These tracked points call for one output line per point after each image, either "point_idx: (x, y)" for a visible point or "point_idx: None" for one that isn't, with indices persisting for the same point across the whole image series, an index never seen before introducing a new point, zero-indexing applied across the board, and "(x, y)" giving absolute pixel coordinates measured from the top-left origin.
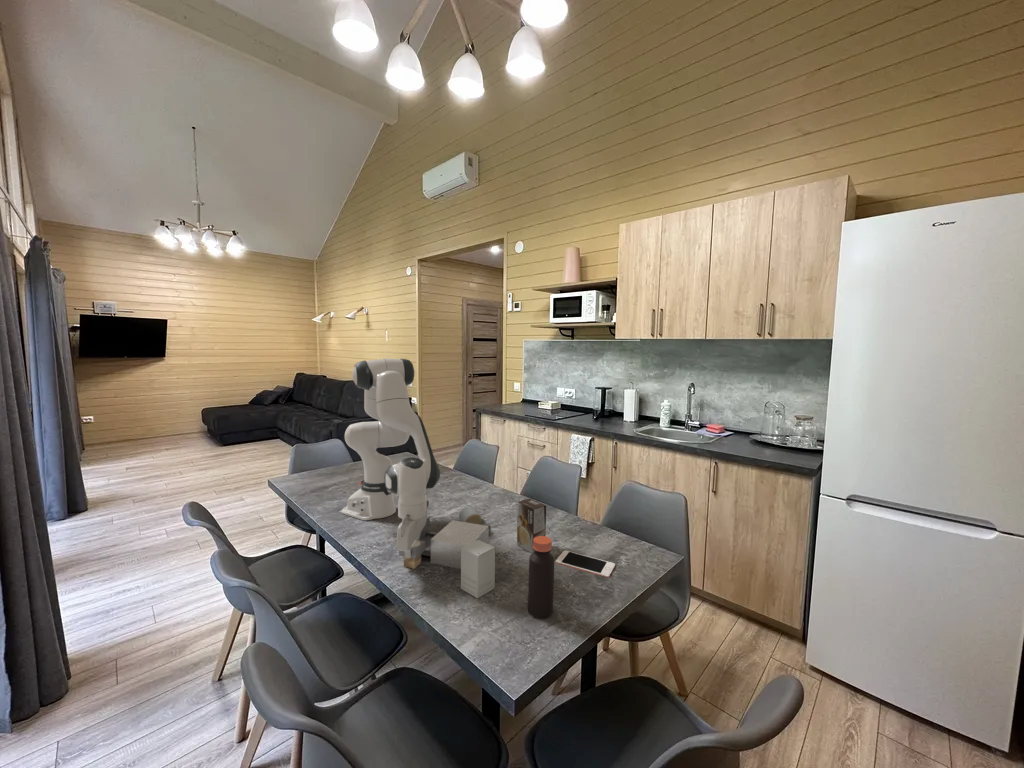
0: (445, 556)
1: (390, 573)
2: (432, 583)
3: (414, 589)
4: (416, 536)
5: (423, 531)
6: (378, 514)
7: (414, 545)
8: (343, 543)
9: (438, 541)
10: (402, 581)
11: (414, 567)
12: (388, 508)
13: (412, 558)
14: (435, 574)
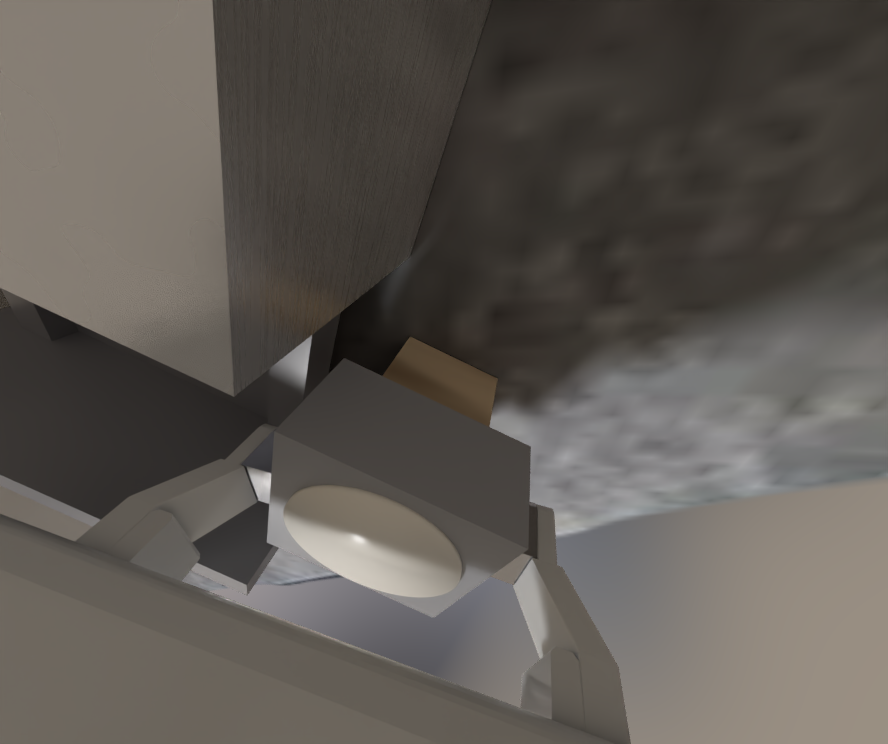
0: (444, 9)
1: (531, 492)
2: (869, 201)
3: (866, 379)
4: (372, 737)
5: (56, 371)
6: None
7: (419, 547)
8: (296, 575)
9: (242, 194)
10: (661, 448)
11: (495, 384)
12: (12, 492)
13: None
14: (652, 182)
